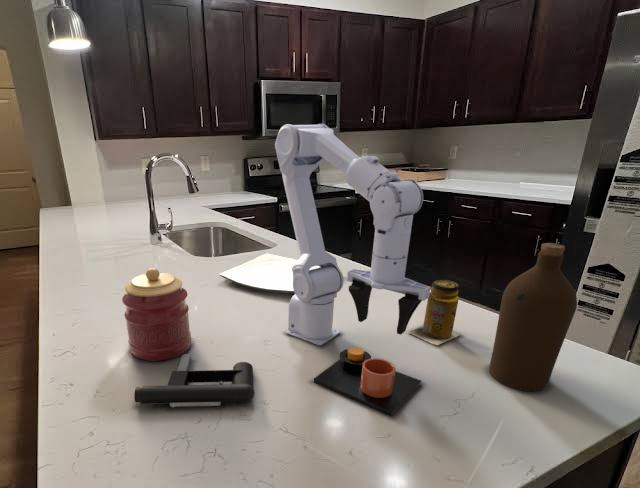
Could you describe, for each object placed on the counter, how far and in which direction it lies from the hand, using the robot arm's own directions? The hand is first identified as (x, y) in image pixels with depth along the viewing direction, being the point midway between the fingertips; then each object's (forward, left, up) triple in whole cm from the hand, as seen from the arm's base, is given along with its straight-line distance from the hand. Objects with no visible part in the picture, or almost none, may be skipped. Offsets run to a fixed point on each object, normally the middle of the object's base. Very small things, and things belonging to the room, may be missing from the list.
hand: (381, 325), depth 76 cm
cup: (+4, -7, -8) cm, 12 cm away
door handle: (-22, -26, -10) cm, 35 cm away
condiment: (+3, +22, -10) cm, 24 cm away
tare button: (-4, -2, -7) cm, 8 cm away
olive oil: (+21, +14, -10) cm, 27 cm away
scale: (+1, -6, -9) cm, 11 cm away
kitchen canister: (-39, -22, -10) cm, 46 cm away
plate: (-47, +28, -10) cm, 56 cm away
